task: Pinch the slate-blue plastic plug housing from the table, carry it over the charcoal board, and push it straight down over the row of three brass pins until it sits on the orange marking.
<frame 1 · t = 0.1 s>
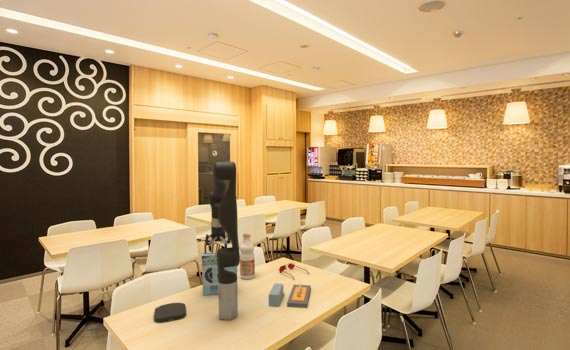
hand: (218, 250, 188), 22 cm above the table, tool pointing down, fingers open, 8 cm apart
media streaming box: (170, 315, 158), on the table
fruit juice: (247, 277, 206), on the table
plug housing: (276, 299, 172), on the table
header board: (299, 297, 175), on the table
blue flat upright box: (220, 293, 182), on the table
glasses: (294, 274, 211), on the table
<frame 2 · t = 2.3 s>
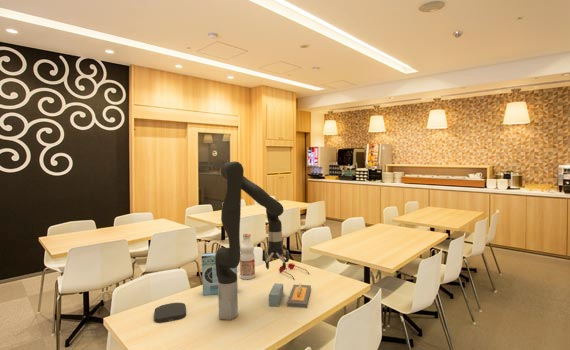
hand: (275, 269, 171), 17 cm above the table, tool pointing down, fingers open, 8 cm apart
nothing on the table moved.
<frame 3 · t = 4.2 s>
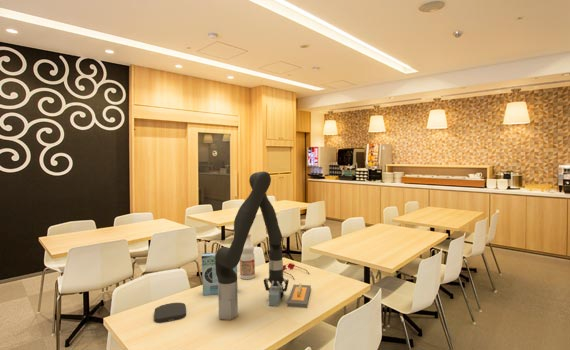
hand: (276, 298, 172), 1 cm above the table, tool pointing down, fingers closed on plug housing, 5 cm apart
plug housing: (276, 299, 172), on the table, touching gripper
everything else where it was.
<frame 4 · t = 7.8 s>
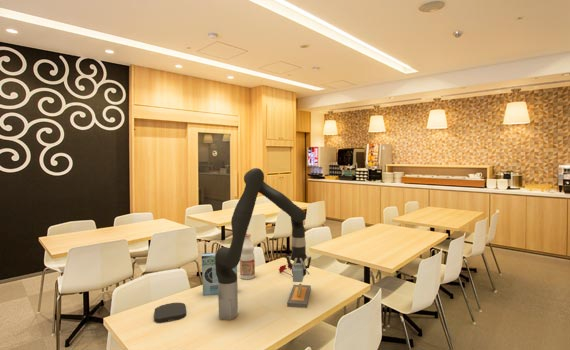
hand: (299, 275, 175), 12 cm above the table, tool pointing down, fingers closed on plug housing, 5 cm apart
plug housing: (299, 276, 175), point 11 cm above the table, touching gripper
everything else where it was.
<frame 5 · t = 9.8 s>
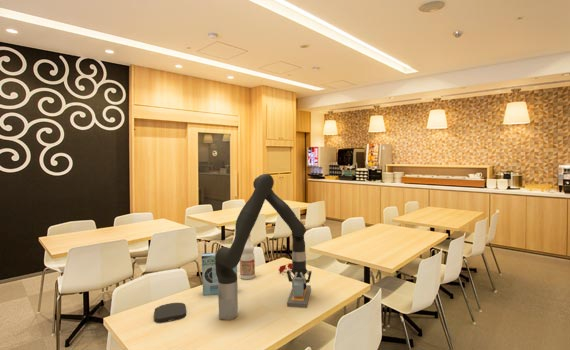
hand: (299, 289, 175), 4 cm above the table, tool pointing down, fingers closed on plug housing, 5 cm apart
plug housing: (299, 290, 175), point 3 cm above the table, touching gripper
everything else where it was.
when the fingers open (3 cm above the table, at t = 11.4 s): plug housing stays where it is, resting on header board.
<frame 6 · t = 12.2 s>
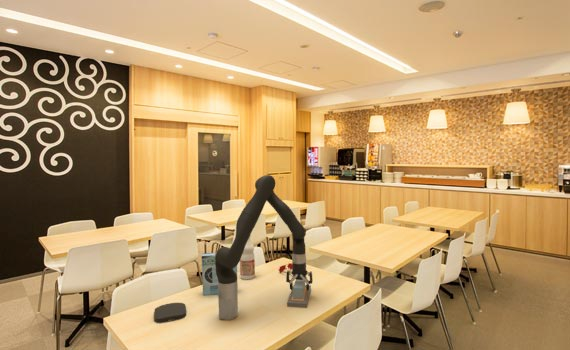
hand: (299, 290, 175), 4 cm above the table, tool pointing down, fingers open, 8 cm apart
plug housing: (299, 293, 175), point 2 cm above the table, touching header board
everything else where it was.
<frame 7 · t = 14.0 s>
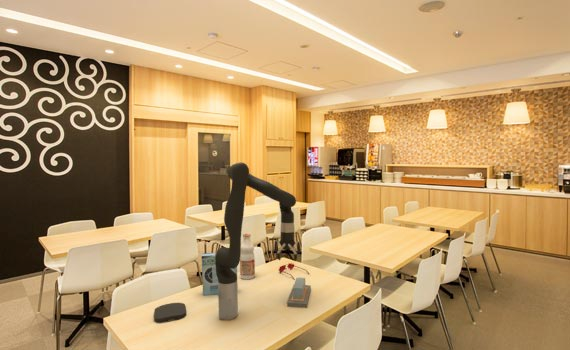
hand: (287, 260, 173), 21 cm above the table, tool pointing down, fingers open, 8 cm apart
nothing on the table moved.
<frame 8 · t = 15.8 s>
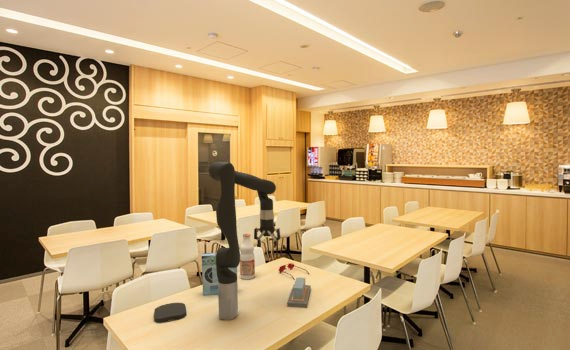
hand: (267, 247, 173), 28 cm above the table, tool pointing down, fingers open, 8 cm apart
nothing on the table moved.
at the end: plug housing 0.0 cm off-centre on the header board, point 2.1 cm above the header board's base; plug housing tilted 0°; the gripper is holding nothing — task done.
